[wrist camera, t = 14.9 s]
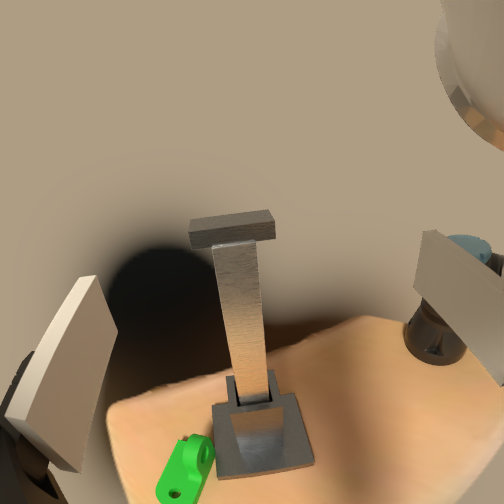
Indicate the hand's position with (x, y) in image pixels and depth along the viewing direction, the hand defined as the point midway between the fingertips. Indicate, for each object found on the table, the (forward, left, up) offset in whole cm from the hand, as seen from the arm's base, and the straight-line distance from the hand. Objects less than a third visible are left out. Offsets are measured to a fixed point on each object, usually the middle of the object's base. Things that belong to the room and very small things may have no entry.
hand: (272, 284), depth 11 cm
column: (+1, -15, -30) cm, 34 cm away
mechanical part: (+13, -9, -39) cm, 42 cm away
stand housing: (+1, -15, -38) cm, 41 cm away
